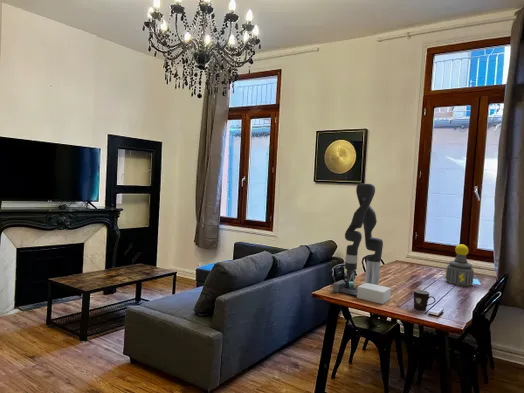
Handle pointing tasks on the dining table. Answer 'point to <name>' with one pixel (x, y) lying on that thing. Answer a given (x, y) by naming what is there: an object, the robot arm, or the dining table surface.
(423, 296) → the coffee mug
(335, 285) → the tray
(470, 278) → the decorative lamp
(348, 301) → the dining table surface
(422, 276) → the dining table surface
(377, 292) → the white rectangular block
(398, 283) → the dining table surface
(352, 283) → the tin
